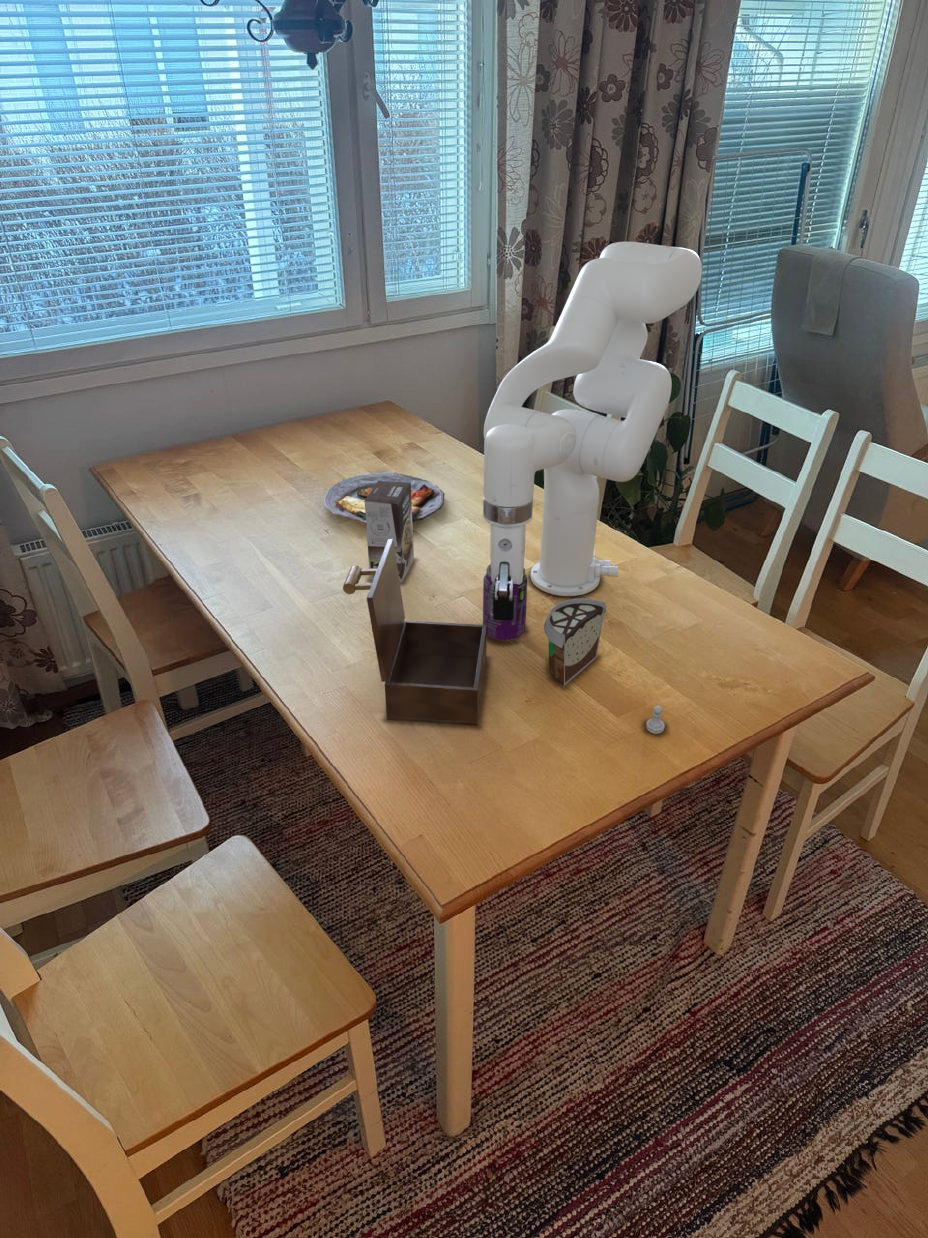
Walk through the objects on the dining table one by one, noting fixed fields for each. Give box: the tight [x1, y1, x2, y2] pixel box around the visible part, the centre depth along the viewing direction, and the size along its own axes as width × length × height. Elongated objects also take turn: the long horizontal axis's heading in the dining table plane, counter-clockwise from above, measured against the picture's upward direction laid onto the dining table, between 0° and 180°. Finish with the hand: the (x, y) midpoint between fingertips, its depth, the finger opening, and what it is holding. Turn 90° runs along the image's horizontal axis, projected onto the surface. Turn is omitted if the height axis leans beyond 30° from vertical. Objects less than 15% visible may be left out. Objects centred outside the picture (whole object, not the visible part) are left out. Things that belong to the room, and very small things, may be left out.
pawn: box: [645, 705, 666, 735], centre depth 121 cm, size 3×3×4 cm
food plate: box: [323, 471, 445, 524], centre depth 180 cm, size 25×23×4 cm
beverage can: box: [482, 563, 529, 641], centre depth 139 cm, size 7×7×12 cm
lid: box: [342, 539, 406, 683], centre depth 123 cm, size 14×16×6 cm
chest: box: [383, 619, 488, 727], centre depth 128 cm, size 13×16×7 cm
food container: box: [543, 598, 607, 687], centre depth 132 cm, size 12×6×10 cm, turn 141°
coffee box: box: [365, 481, 415, 584], centre depth 154 cm, size 9×6×16 cm
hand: (504, 605), depth 139 cm, fingers closed on beverage can, 6 cm apart
